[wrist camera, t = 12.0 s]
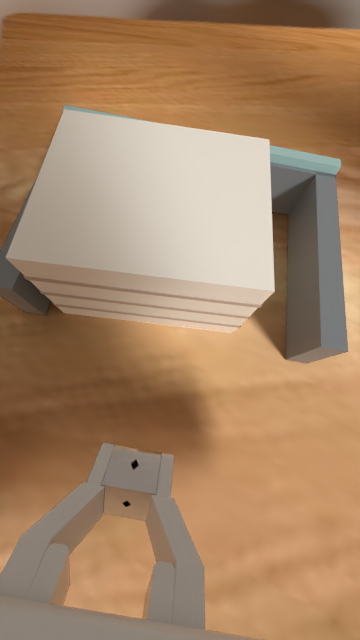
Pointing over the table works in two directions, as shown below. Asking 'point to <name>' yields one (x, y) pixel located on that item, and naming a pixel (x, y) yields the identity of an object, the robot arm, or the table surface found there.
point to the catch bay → (303, 254)
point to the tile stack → (150, 223)
